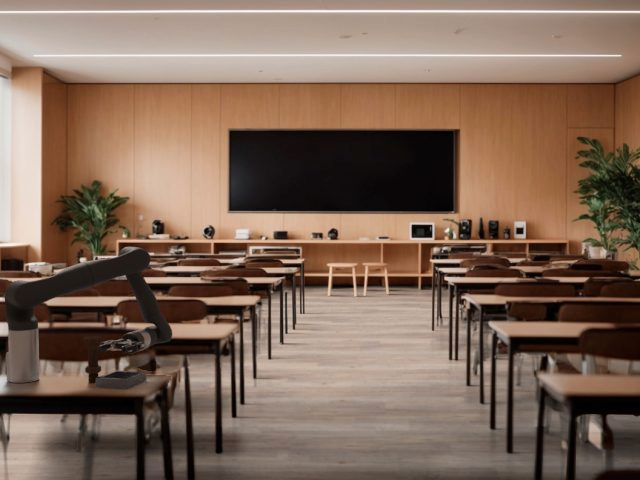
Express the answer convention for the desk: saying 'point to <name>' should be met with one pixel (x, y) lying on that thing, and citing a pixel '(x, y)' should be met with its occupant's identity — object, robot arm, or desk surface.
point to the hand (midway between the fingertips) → (111, 349)
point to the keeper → (120, 379)
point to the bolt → (92, 357)
